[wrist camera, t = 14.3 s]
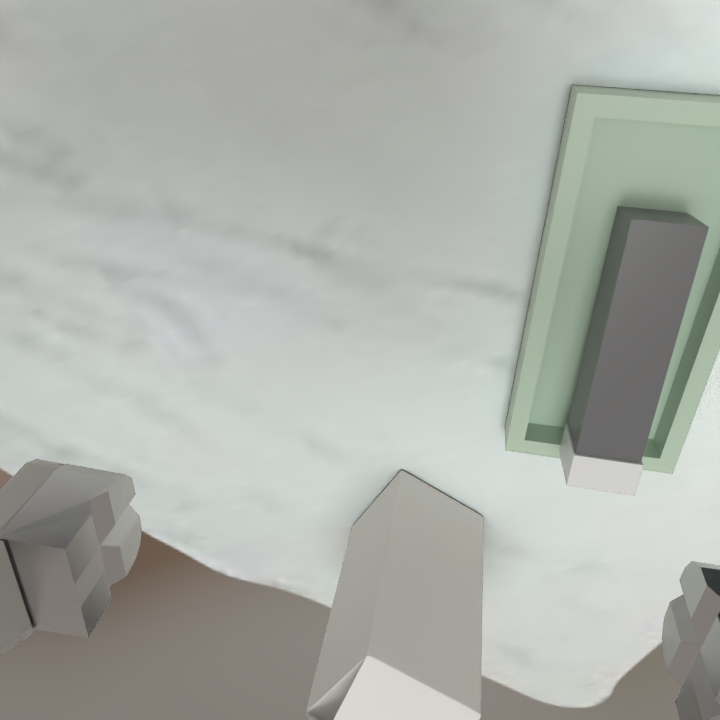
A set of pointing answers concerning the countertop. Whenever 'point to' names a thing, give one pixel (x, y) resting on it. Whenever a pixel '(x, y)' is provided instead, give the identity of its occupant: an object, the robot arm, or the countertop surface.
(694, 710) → the robot arm
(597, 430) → the dark grey bar
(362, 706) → the milk carton
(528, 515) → the countertop surface
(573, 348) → the tray
